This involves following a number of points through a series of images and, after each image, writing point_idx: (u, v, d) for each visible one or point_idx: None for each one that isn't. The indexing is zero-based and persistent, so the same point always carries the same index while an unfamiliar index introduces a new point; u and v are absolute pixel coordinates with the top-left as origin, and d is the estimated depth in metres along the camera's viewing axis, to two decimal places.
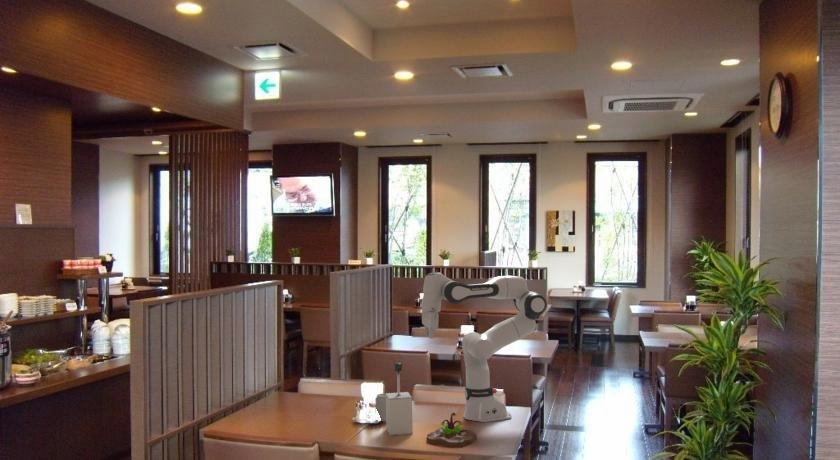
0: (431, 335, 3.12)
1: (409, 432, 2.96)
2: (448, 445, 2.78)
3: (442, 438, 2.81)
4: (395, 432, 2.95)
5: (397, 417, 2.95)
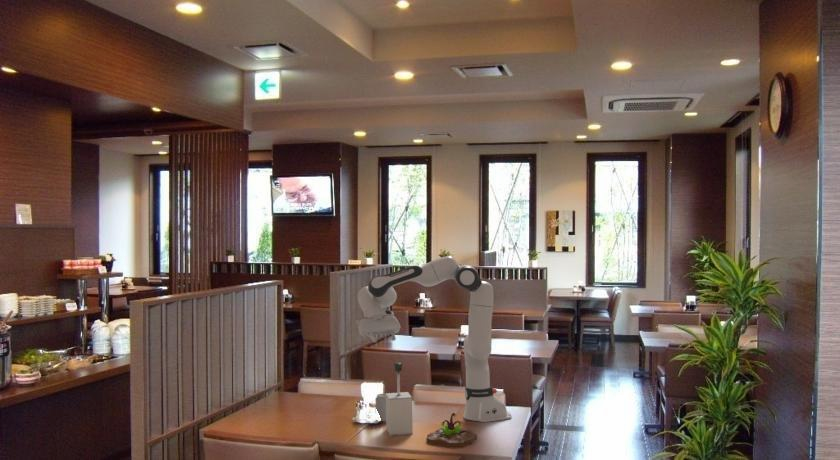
0: (372, 339, 3.09)
1: (409, 432, 2.96)
2: (448, 445, 2.77)
3: (442, 438, 2.80)
4: (395, 432, 2.95)
5: (397, 417, 2.95)
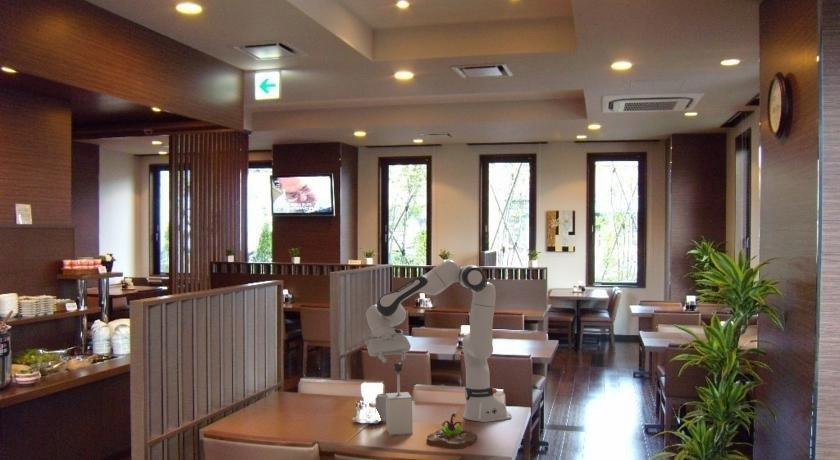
0: (382, 359, 3.01)
1: (409, 432, 2.96)
2: (449, 446, 2.76)
3: (443, 439, 2.79)
4: (395, 432, 2.95)
5: (397, 417, 2.95)
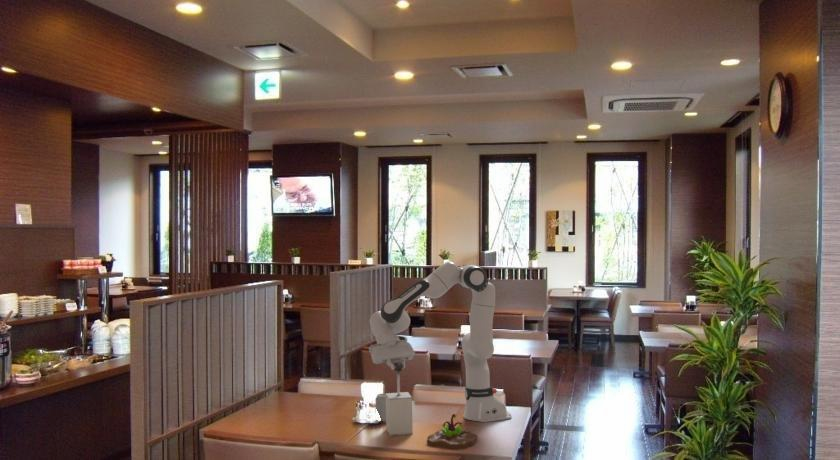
0: (391, 366, 2.99)
1: (409, 432, 2.96)
2: (450, 447, 2.75)
3: (444, 440, 2.78)
4: (395, 432, 2.95)
5: (397, 417, 2.95)
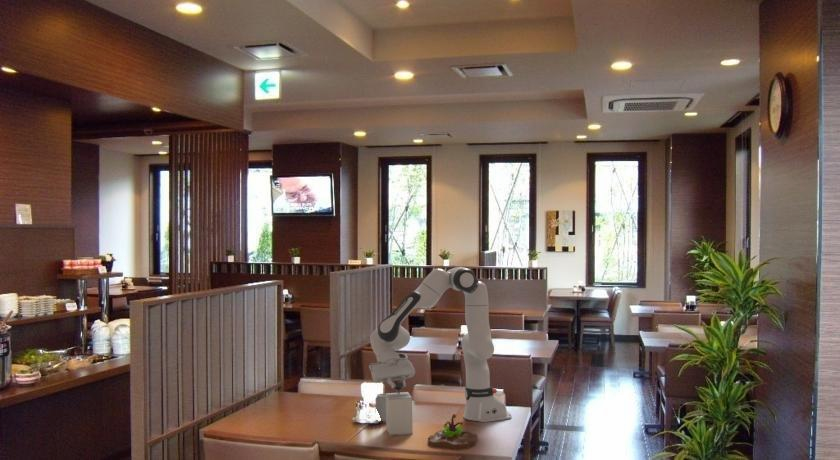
0: (391, 385, 2.99)
1: (409, 432, 2.96)
2: (453, 447, 2.75)
3: (446, 441, 2.77)
4: (395, 432, 2.95)
5: (397, 417, 2.95)
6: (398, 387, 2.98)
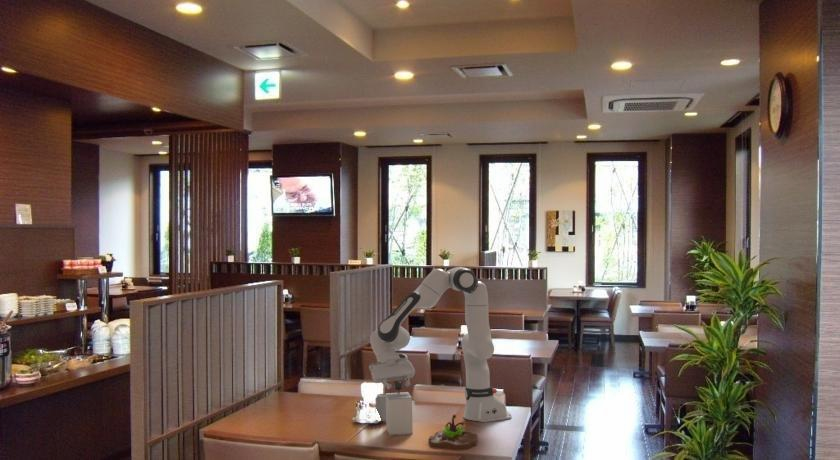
0: (387, 386, 2.98)
1: (409, 432, 2.96)
2: (455, 448, 2.74)
3: (448, 441, 2.76)
4: (395, 432, 2.95)
5: (397, 417, 2.95)
6: (398, 387, 2.98)
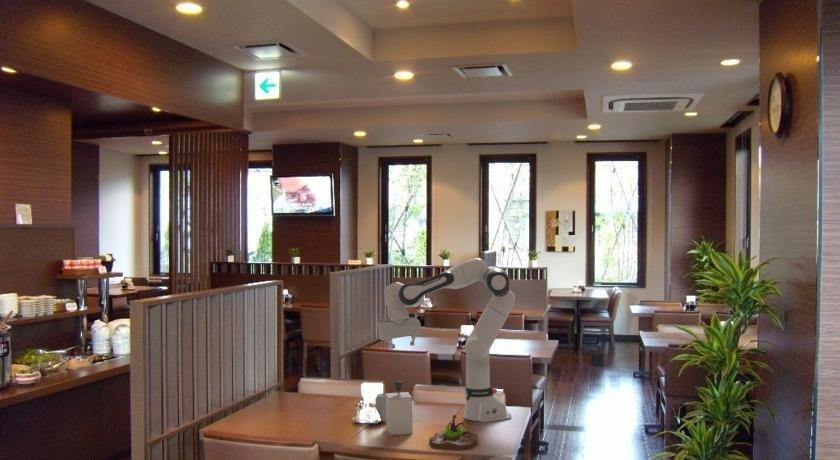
0: (391, 345, 3.13)
1: (409, 432, 2.96)
2: (458, 448, 2.74)
3: (450, 442, 2.76)
4: (395, 432, 2.95)
5: (397, 417, 2.95)
6: (398, 387, 2.98)
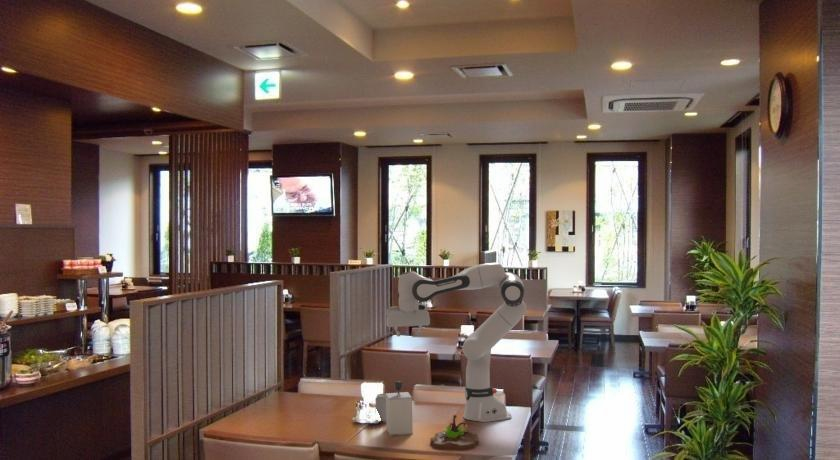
0: None
1: (409, 432, 2.96)
2: (460, 448, 2.74)
3: (452, 442, 2.75)
4: (395, 432, 2.95)
5: (397, 417, 2.95)
6: (398, 387, 2.98)
